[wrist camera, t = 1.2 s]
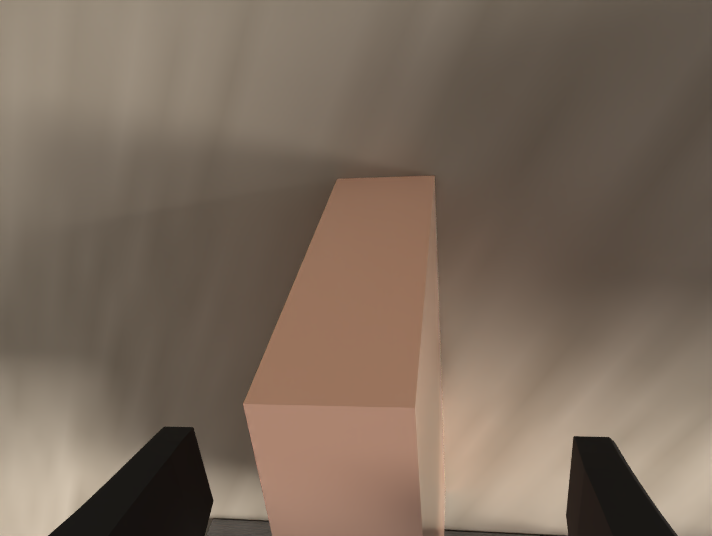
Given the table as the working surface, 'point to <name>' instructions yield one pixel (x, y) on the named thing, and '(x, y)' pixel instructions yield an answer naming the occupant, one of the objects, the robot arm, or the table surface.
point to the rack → (257, 532)
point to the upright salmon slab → (357, 373)
